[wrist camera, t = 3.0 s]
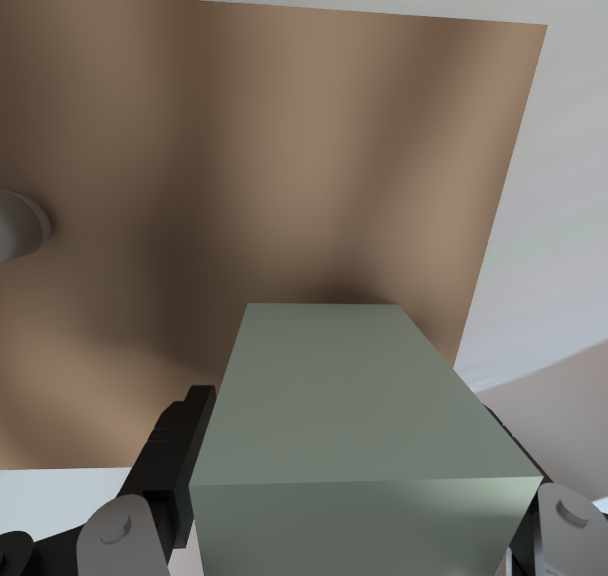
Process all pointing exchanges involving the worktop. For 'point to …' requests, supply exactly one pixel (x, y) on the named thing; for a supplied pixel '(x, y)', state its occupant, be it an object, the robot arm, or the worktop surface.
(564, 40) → the worktop surface
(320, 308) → the pale green block
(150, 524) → the robot arm
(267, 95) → the board
